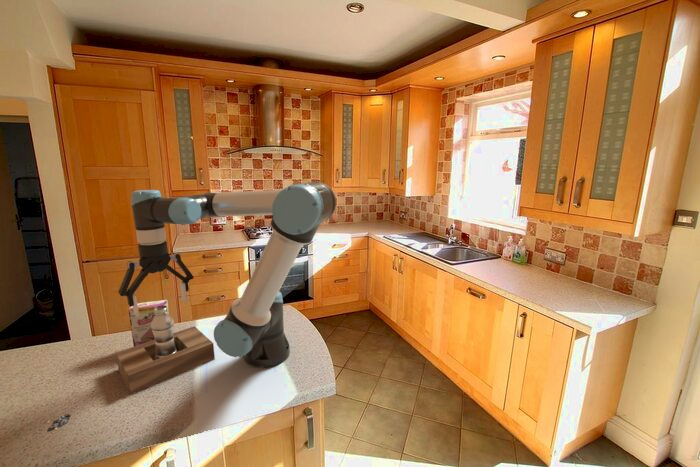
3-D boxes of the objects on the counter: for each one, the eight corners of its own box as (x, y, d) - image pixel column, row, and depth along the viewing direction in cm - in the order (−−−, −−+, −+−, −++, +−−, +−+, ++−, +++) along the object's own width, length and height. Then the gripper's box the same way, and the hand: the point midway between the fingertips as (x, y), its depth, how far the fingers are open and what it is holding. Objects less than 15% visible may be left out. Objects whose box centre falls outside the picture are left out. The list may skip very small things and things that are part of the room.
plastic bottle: (170, 356, 112) (163, 301, 107) (183, 362, 109) (176, 305, 104) (151, 366, 106) (143, 309, 102) (164, 373, 103) (157, 314, 99)
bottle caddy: (214, 359, 110) (213, 343, 109) (131, 394, 94) (128, 375, 92) (196, 341, 121) (194, 326, 120) (118, 369, 104) (115, 352, 103)
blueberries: (32, 437, 80) (29, 431, 79) (58, 411, 87) (56, 405, 87) (60, 437, 80) (58, 431, 80) (84, 410, 88) (83, 405, 87)
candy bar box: (134, 353, 113) (127, 309, 110) (137, 345, 118) (131, 303, 114) (170, 347, 117) (165, 304, 114) (172, 340, 122) (167, 298, 118)
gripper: (190, 233, 110) (197, 293, 114) (98, 247, 92) (111, 317, 97) (199, 237, 105) (206, 299, 109) (104, 252, 87) (116, 326, 92)
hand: (161, 308), depth 103 cm, fingers open, 13 cm apart
